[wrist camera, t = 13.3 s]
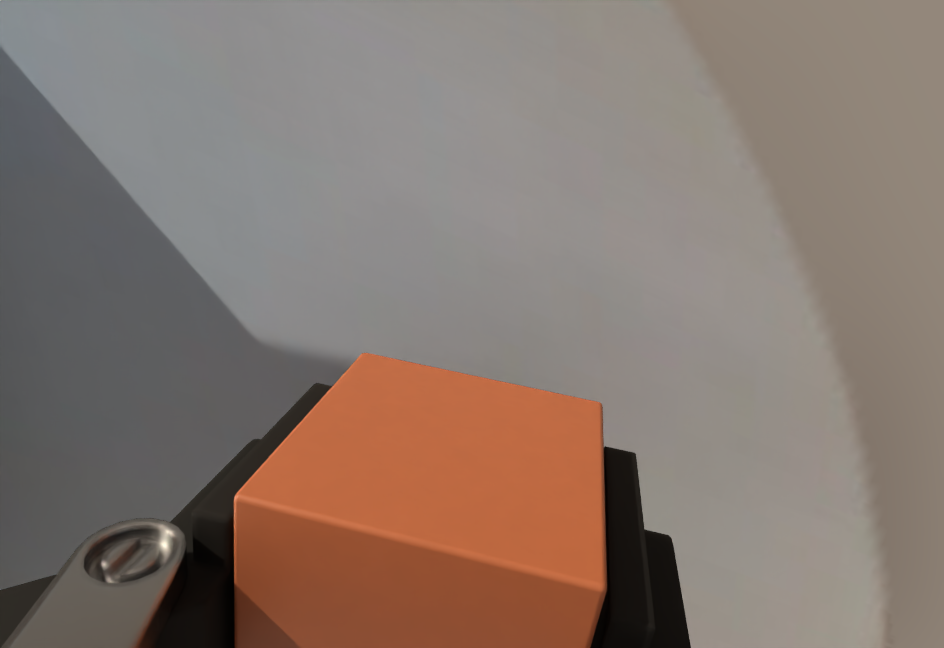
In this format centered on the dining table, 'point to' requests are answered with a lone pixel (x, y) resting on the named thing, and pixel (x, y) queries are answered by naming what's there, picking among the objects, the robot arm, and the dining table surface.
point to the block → (425, 518)
